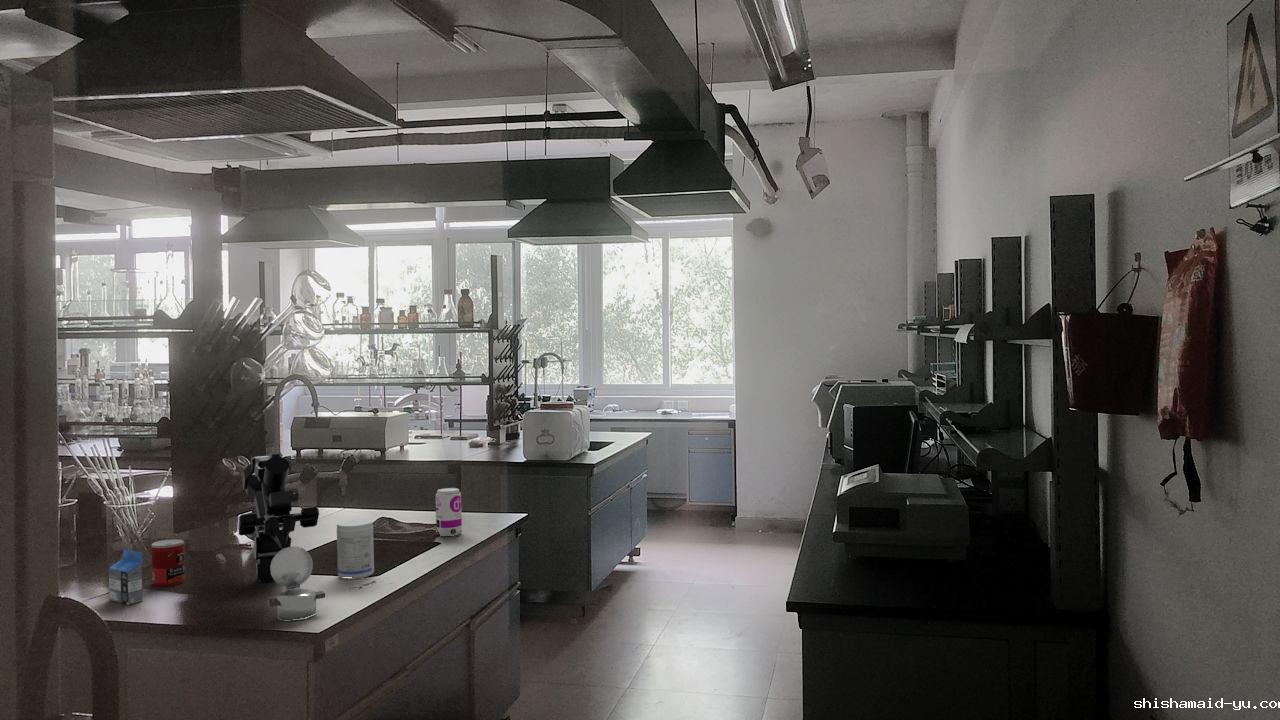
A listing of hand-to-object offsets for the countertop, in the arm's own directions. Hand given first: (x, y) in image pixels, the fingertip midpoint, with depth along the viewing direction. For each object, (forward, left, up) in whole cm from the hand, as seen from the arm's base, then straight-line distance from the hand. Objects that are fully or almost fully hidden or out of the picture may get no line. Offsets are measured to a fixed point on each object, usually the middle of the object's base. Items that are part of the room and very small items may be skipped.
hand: (283, 547), depth 212 cm
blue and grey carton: (+34, -21, -13) cm, 42 cm away
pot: (0, +17, -13) cm, 21 cm away
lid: (0, +12, -2) cm, 12 cm away
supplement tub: (-20, -11, -13) cm, 26 cm away
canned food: (+24, -34, -13) cm, 44 cm away
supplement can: (-58, -45, -13) cm, 75 cm away
